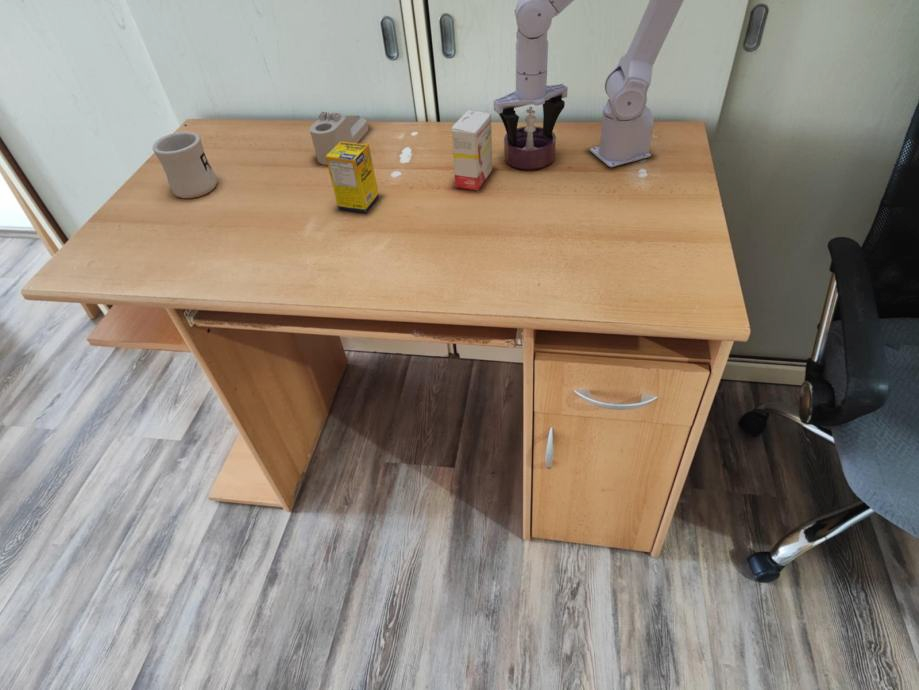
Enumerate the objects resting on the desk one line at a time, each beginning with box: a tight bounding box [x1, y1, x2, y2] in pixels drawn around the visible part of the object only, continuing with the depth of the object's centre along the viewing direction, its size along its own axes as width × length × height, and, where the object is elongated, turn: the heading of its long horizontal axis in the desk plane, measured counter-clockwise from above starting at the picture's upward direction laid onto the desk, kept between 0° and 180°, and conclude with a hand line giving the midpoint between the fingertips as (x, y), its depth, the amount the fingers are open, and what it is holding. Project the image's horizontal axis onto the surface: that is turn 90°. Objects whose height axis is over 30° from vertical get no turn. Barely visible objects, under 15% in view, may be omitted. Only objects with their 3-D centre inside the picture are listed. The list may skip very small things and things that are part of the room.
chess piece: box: [522, 106, 536, 149], centre depth 115 cm, size 5×5×10 cm
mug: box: [152, 131, 218, 199], centre depth 117 cm, size 12×9×10 cm
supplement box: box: [326, 141, 380, 214], centre depth 107 cm, size 6×6×11 cm
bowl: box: [503, 125, 557, 171], centre depth 117 cm, size 10×10×4 cm
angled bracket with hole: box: [309, 111, 369, 166], centre depth 126 cm, size 6×18×8 cm, turn 163°
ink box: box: [451, 109, 493, 191], centre depth 111 cm, size 9×5×12 cm, turn 157°
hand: (529, 139), depth 116 cm, fingers open, 7 cm apart
